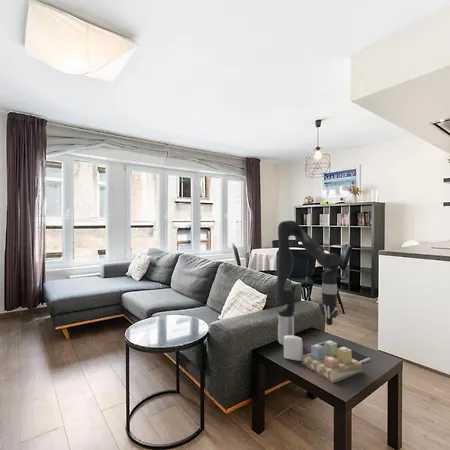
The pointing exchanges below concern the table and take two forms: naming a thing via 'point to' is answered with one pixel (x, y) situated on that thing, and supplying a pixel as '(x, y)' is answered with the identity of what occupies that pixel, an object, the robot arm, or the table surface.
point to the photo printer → (293, 348)
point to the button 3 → (331, 362)
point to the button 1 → (317, 352)
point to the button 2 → (330, 348)
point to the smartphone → (353, 354)
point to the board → (329, 373)
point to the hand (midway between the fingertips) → (329, 324)
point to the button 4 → (344, 355)
